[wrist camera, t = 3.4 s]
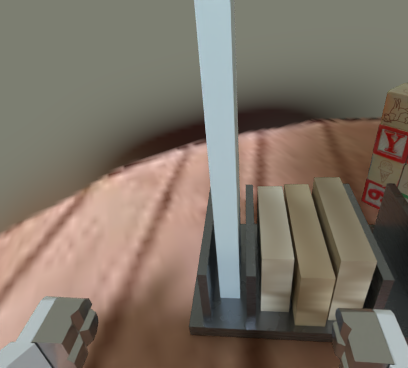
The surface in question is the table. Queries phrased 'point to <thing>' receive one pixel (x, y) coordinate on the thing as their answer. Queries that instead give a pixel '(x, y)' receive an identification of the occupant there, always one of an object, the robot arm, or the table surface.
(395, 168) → the stack of blocks
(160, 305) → the table surface
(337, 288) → the offcut
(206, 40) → the tall panel
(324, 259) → the offcut
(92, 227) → the table surface
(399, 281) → the slot rack
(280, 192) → the offcut
